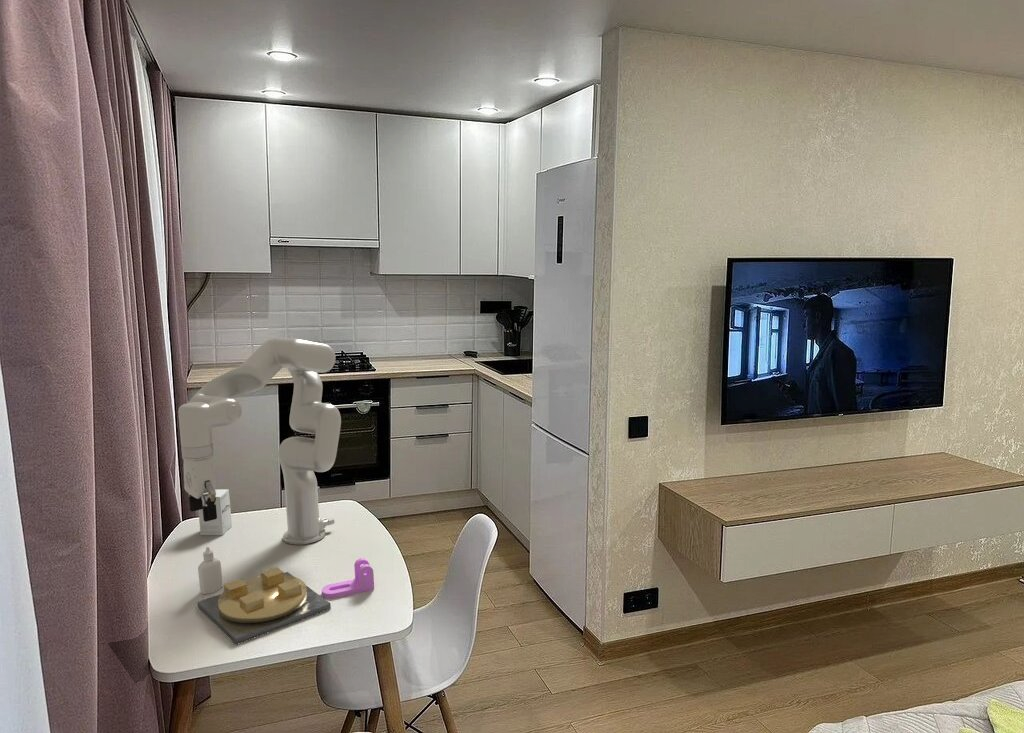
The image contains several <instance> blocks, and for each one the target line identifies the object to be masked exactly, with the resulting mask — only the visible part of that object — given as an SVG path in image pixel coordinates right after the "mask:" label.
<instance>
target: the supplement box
mask: <svg viewBox="0 0 1024 733" xmlns="http://www.w3.org/2000/svg"><path fill="white" fill-rule="evenodd" d="M215 492H216V496H215V497H216V511H217V519H215V520H211V521H207V522H205V521H204V519H203V509H201V510H197V511H198V520H199V521H198V522H199V530H200V531H199V532H200V536H224V535H225V534H226V532H227V531H228V530H229V529H230V528H232V526H233V523H232V511H231V499H230V490H229V489H228V488H227V489H226V488H225V489H224V488H221V489H216V491H215ZM204 494H207V493H204ZM208 498H209V497H207V498H205V499H206V501H207V499H208ZM203 506H204V504H203Z"/></svg>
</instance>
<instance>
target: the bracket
mask: <svg viewBox="0 0 1024 733" xmlns="http://www.w3.org/2000/svg"><path fill="white" fill-rule="evenodd" d="M353 566H354V567H353V568H354V578H353V579H349V580H345V581H339V582H335V583H331V584H327V585H325V586H323V587H322V588H321V597H323V598H324V599H335V598H340V597H345V596H346V597H347V596H350V595H355V594H360V593H363V592H364V591H365V592H369V591H373V590H375V576H374V569H373V567H372V566H371V565H370V562H369V561H368V559H367V558H363V557H360V558H358V559H357V560H355V562H354V565H353ZM365 592H364V593H365Z"/></svg>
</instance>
